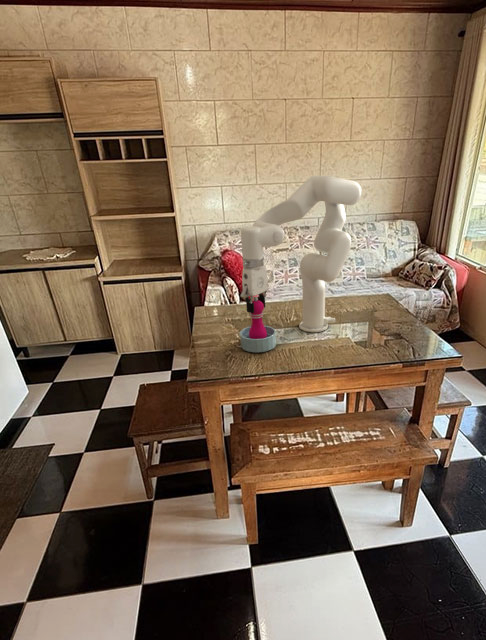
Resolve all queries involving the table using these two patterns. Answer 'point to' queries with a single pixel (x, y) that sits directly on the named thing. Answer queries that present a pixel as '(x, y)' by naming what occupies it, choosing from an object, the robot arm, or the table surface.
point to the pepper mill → (257, 321)
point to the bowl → (258, 341)
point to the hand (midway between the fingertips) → (256, 309)
